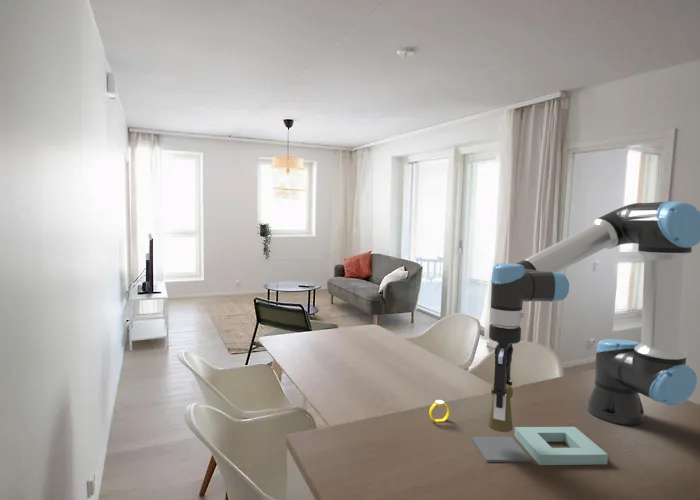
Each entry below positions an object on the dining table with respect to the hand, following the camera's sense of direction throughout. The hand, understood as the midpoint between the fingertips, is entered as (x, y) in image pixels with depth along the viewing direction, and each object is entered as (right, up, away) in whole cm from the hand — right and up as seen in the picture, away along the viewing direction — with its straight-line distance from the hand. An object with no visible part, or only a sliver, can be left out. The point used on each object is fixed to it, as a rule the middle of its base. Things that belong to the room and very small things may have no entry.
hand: (500, 414), depth 110 cm
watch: (-12, -8, +16) cm, 22 cm away
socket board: (+15, -10, +2) cm, 18 cm away
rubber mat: (0, -9, +1) cm, 9 cm away
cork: (0, -3, 0) cm, 3 cm away
